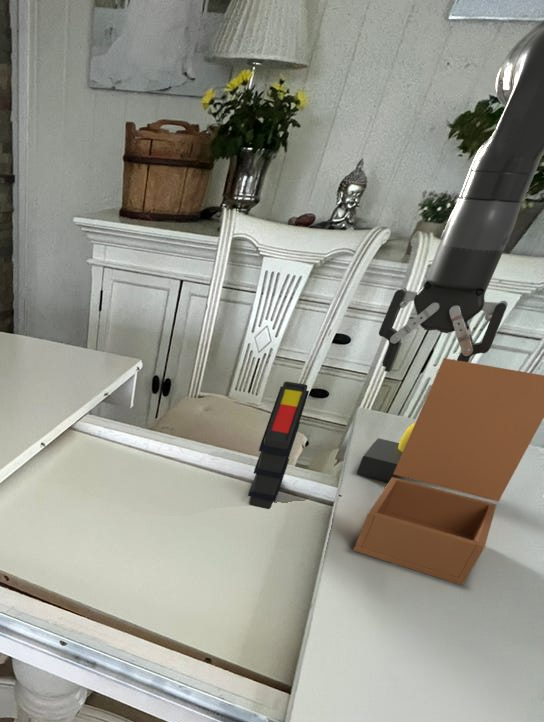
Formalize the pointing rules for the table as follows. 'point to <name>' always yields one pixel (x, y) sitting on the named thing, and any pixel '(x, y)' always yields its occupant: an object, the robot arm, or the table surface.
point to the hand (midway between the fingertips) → (418, 376)
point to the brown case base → (426, 530)
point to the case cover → (473, 428)
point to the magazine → (277, 444)
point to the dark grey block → (380, 460)
